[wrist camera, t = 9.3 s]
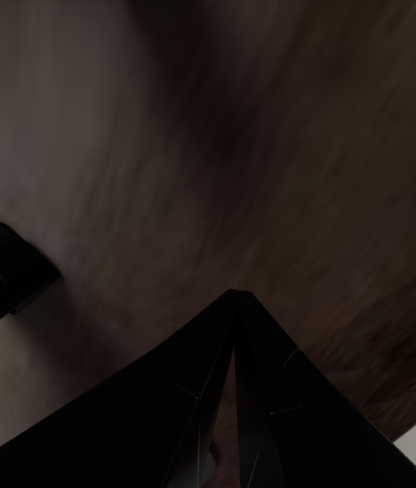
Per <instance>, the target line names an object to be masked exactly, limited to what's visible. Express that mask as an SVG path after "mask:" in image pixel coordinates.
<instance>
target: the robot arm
mask: <svg viewBox="0 0 416 488" xmlns="http://www.w3.org/2000/svg"><path fill="white" fill-rule="evenodd" d="M51 274H53V275H54V277H53V276H52V275H51ZM59 277H60V274H59V272H58V271H57V270H56V269H55V268H54V267H53V266H52V265H50V264H49V263H48V262H47V261H46V260H45V259H44V258H43V257H41V256H40V255H39V254H38V253H37V252H36V251H35V250H34V249H32V248H31V247H30V246H29V245H28V244H27V243H26V242H24V241H23V240H22V239H21V238H20V237H19V236H18V235H17V234H15V233H14V232H13V231H12V230H11V229H10V228H9V227H8V226H6V225H5V224H4V223H2V222H0V319H2V318H3V317H4V316H5V315H7V314H8V313H10V314H12V315H16V314H18V313H19V312H20V311H21V310H23V309H24V308H25V307H26V306H27V305H28V304H29V303H31V302H32V301H33V300H34V299H35V298H36V297H37V296H39V295H40V294H41V293H42V292H43V291H44V290H45V289H47V288H48V287H49V286H50V285H51V284H52V283H53V282H55V281H56V280H57V279H58V278H59ZM234 340H235V342H234ZM233 347H234V357H235V378H236V399H237V420H238V442H239V463H240V484H241V488H416V465H414V463H413V462H411V460H409V459H408V458H407V457H406V456H405V455H404V454H403V453H402V452H401V451H400V450H399V449H398V448H397V447H396V446H395V445H394V444H393V443H392V442H391V441H390V440H389V439H388V438H387V437H386V436H385V435H384V434H383V433H382V432H381V431H380V430H379V429H378V428H377V427H376V426H375V425H374V424H373V423H372V422H371V421H370V420H369V419H367V418H366V417H365V416H364V415H363V414H362V413H361V412H360V411H359V410H358V409H357V408H356V407H355V406H354V405H353V404H352V403H351V402H350V401H349V400H348V399H347V398H346V397H345V396H344V395H343V394H342V393H341V392H340V391H339V390H338V389H337V388H336V387H335V386H334V385H333V384H332V383H331V382H330V381H329V380H328V379H327V378H326V377H325V376H324V375H323V374H322V373H321V372H320V371H319V370H318V369H317V367H316V366H315V365H314V364H313V363H312V362H311V361H310V360H309V359H308V357H307V356H306V355H305V354H304V353H303V352H302V350H299V347H298V346H297V345H296V344H295V343H294V342H293V340H292V339H291V338H290V337H289V336H288V335H287V333H286V332H285V331H284V330H283V329H282V327H281V326H280V325H279V324H278V323H277V322H276V320H275V319H274V318H273V317H272V316H271V315H270V313H269V312H268V311H267V310H266V309H265V307H264V306H263V305H262V304H261V303H260V302H259V300H258V299H257V298H256V297H255V296H254V295H253V293H252V292H250V291H243V290H241V291H239V290H236V289H228V290H227V291H225V292H224V293H223V294H222V295H221V296H219V297H218V298H217V299H216V300H215V301H213V302H212V303H211V304H210V305H208V306H207V307H206V308H205V309H204V310H202V311H201V312H200V313H199V314H197V315H196V316H195V317H194V318H193V319H191V320H190V321H189V322H188V323H186V324H185V325H184V326H183V327H182V328H180V330H177V331H176V332H175V333H174V334H172V335H171V336H170V337H169V338H167V339H166V340H165V341H163V342H162V343H161V344H159V345H158V346H156V347H155V348H154V349H152V350H151V351H149V352H148V353H146V354H145V355H143V356H142V357H140V358H138V359H137V360H135V361H134V362H132V363H131V364H129V365H127V366H126V367H124V368H123V369H121V370H120V371H118V372H116V373H115V374H113V375H112V376H110V377H109V378H107V379H105V380H104V381H102V382H101V383H99V384H98V385H96V386H94V387H93V388H91V389H90V390H88V391H87V392H85V393H83V394H82V395H80V396H79V397H77V398H76V399H74V400H72V401H71V402H69V403H68V404H66V405H65V406H63V407H61V408H60V409H58V410H57V411H55V412H54V413H52V414H51V415H49V416H47V417H46V418H44V419H43V420H41V421H40V422H38V423H36V424H35V425H33V426H32V427H30V428H29V429H27V430H25V431H24V432H22V433H21V434H19V435H18V436H16V437H14V438H13V439H11V440H10V441H8V442H7V443H5V444H3V445H2V446H0V488H200V484H201V479H202V475H203V471H204V467H205V463H206V459H207V455H208V451H209V447H210V442H211V438H212V434H213V430H214V426H215V422H216V418H217V414H218V410H219V406H220V401H221V397H222V393H223V389H224V385H225V381H226V377H227V373H228V369H229V365H230V360H231V356H232V352H233Z"/></svg>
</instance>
